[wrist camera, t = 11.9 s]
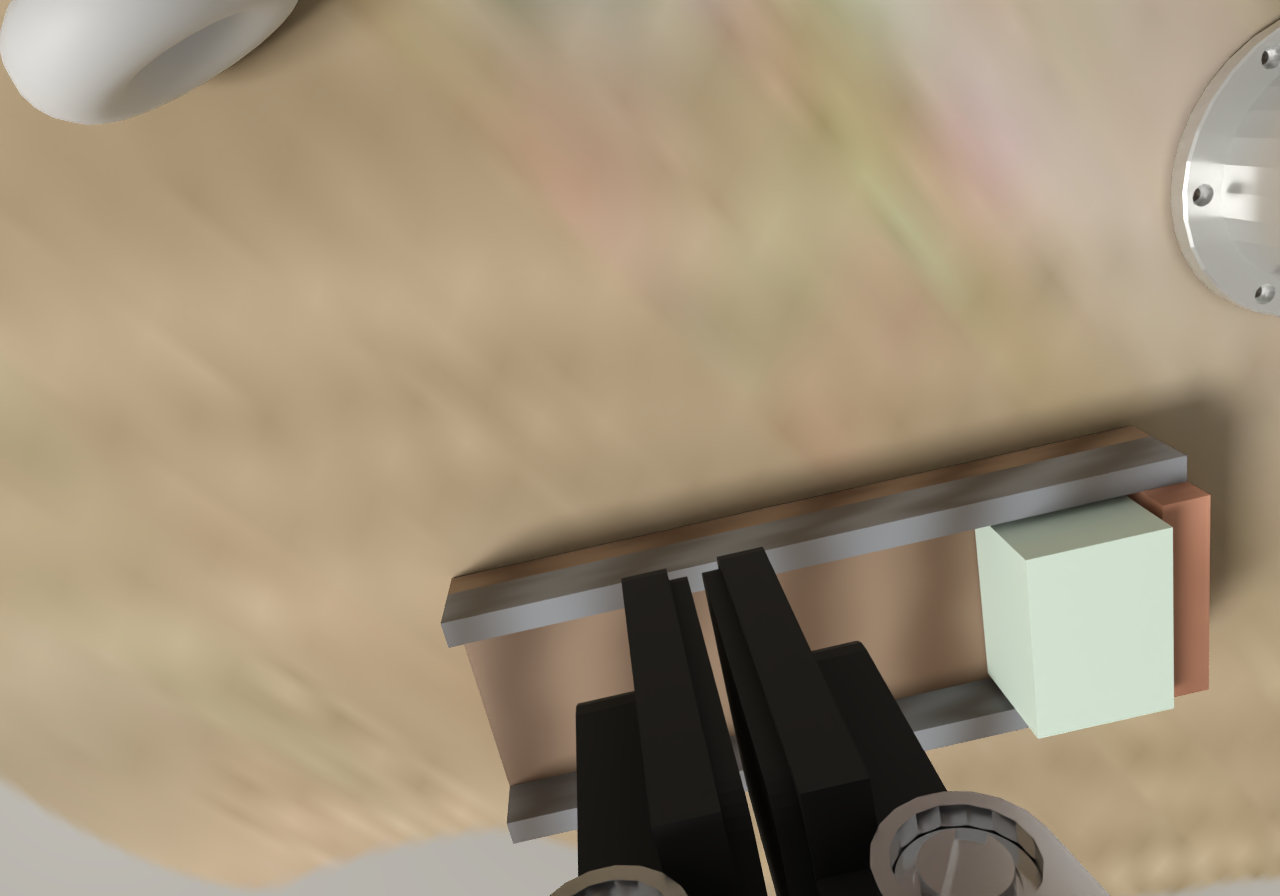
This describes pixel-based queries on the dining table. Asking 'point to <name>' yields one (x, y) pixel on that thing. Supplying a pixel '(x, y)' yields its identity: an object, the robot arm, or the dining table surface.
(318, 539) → the dining table surface
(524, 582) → the track
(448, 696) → the dining table surface
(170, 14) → the donut
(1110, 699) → the sliding block
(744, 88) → the dining table surface
